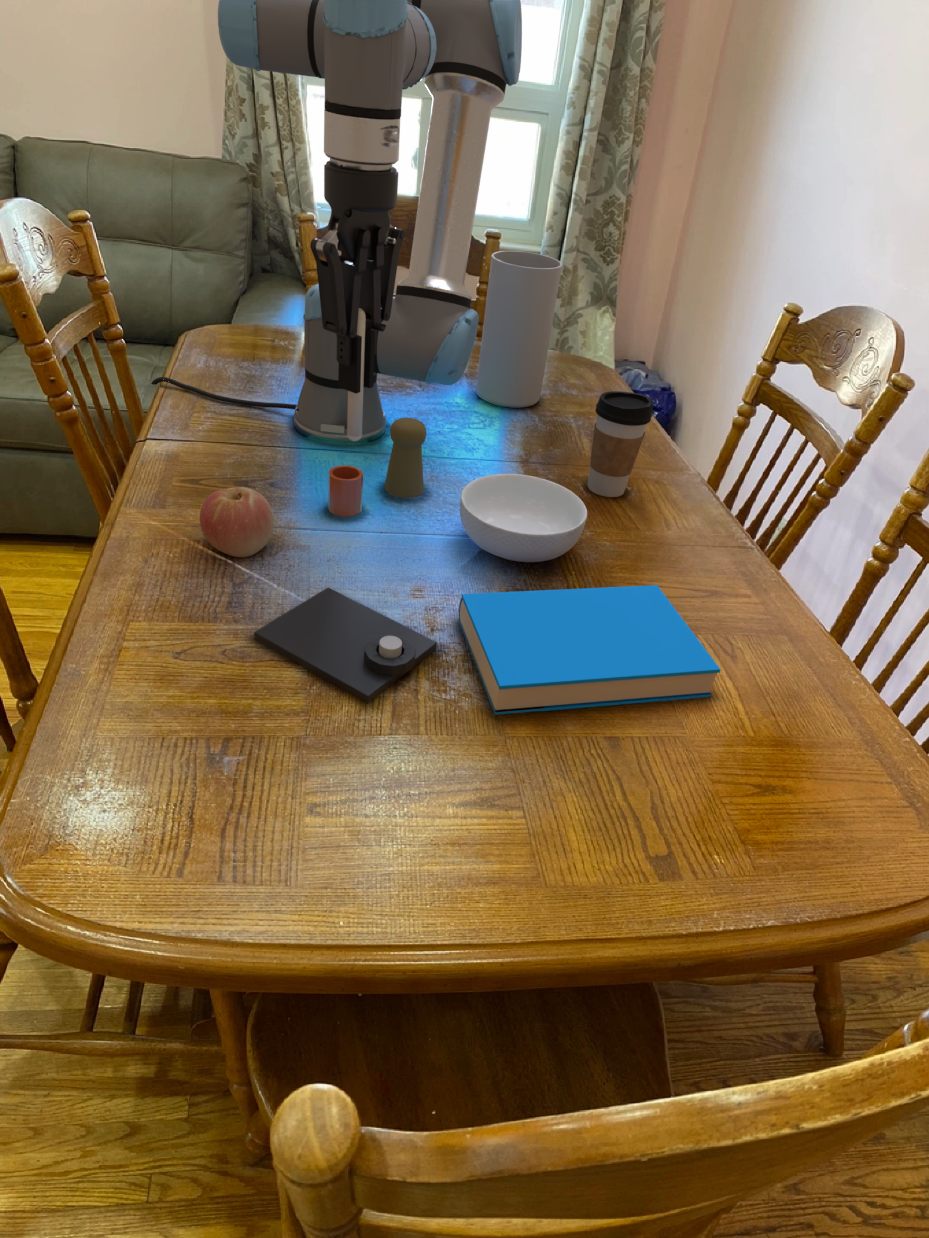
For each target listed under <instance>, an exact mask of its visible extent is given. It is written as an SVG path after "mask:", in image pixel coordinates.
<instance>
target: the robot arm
mask: <svg viewBox="0 0 929 1238" xmlns="http://www.w3.org/2000/svg"><path fill="white" fill-rule="evenodd" d="M521 1H522V0H218V6H217V26H218V27H217V28H218V35H219V36H218V37H219V41H220V44H221V48H222V50H223V52H224V54H225V56H226V58H228V60H229V61H230V63H232V64H233V65H234V66H238V67H243V68H247V69H252V70H255V71H256V72H261V71H265V72H273V73H280V74H287V75H295V76H296V75H297V76H304V77H313V78H318V79H322V80H323V79H324V109H323V121H324V122H323V154H325V156H326V157H327V158H329V160H328V161H326V162H325V164H324V165H323V171H324V172H323V189H324V190H323V196H324V197H323V198H324V200H325V202H326V203H328V205H329V207H330V217H329V219H328V220H329V221H328V222H327V233H326V234H325V235H324V236H323V237H322V238H321V239H319V238H315V237H314V238H312V239H311V241H310V245H309V247H310V250H311V252H312V255H313V257H314V261H315V263H316V275H317V283H315V284H314V285H312V286H310V287H309V289H308V290H307V291H306V294H305V298H304V313H303V320H304V321H303V322H304V324H303V325H304V326H303V327H304V329H303V330H304V332H303V333H304V381H303V384H302V387H301V390H300V393H299V397H298V400H297V404H296V403H295V404H294V403H293V404H292V403H283V402H265V401H255V400H247V399H241V398H233V397H228V396H224V395H220V394H215V393H211V392H209V391H206V390H204V389H201V388H199V387H195V386H193V385H189V384H185V383H183V382H180V381H178V380H175V379H173V378H171V377H166V376H159V377H156V378H154V379H153V380H152V381H151V382H150V385H158V384H159V383H168V384H171V385H173V386H175V387H178V388H180V389H183V390H185V391H189V392H193V393H195V394H198V395H201V396H203V397H206V398H209V399H213V400H216V401H220V402H224V403H230V404H235V405H242V406H250V407H257V408H258V407H259V408H271V409H272V408H274V409H287V410H294V413H293V425H294V428H295V430H297V432H299V433H300V434H301V435H303V436H305V437H306V438H312V439H315V440H319V441H323V442H329V443H339V444H353V443H362V442H363V443H364V442H371V441H374V440H377V439H378V438H380V437H381V436H383V434H384V433H386V427H387V426H386V425H387V424H386V423H387V419H386V418H387V417H386V414H385V411H384V409H383V406H382V400H381V396H380V392H379V387H378V374H380V375H384V376H389V377H390V376H391V377H395V378H401V379H406V380H411V381H416V382H421V383H422V382H423V383H425V384H428V385H430V384H434V385H435V384H437V385H442V386H443V385H444V386H451V385H454V384H456V383H458V382H459V381H460V379H461V377H462V376H463V375H464V373H465V371H466V369H467V366H468V364H469V362H470V358H471V356H472V353H473V349H474V346H475V343H476V340H477V339H476V338H477V333H478V327H479V322H480V316H479V313H478V311H476V310H475V309H474V308H471V304H472V299H473V298H472V296H471V294H470V293H469V291H468V290H467V288H466V286H465V280H466V274H467V273H466V272H467V266H468V261H469V254H470V248H471V241H472V235H473V230H474V229H473V228H474V224H475V223H474V222H475V217H476V210H477V204H478V197H479V192H480V184H481V178H482V171H483V165H484V161H485V160H484V159H485V153H486V147H487V140H488V135H489V129H490V121H491V117H492V112H493V109H494V108H496V107H497V106H498V105H500V104H501V103H502V102H503V101H504V98H505V95H506V88H507V86H508V87H512V86H515V85H517V83H518V82H519V79H520V73H521V66H522V65H521V64H522V51H523V50H522V48H523V46H522V45H523V18H522V15H523V14H522V3H521ZM422 80H424V86H425V87H426V89H427V91H428V92H429V94H430V95H431V97H432V102H431V110H430V116H429V125H428V132H427V138H426V145H425V154H424V158H423V159H424V160H423V167H422V174H421V182H420V189H419V195H418V203H417V210H416V216H415V223H414V224H415V225H414V231H413V239H412V246H411V247H412V248H411V254H410V261H409V269H408V274H407V275H406V276H405V277H404V278H403V279H401V280H400V281H399V282H397V284H396V278H397V271H398V264H399V257H400V251H401V249H402V245H403V243H404V240H405V236H406V232H405V230H404V229H401V228H398V227H395V226H393V225H392V224H391V223H392V222H391V215H390V211H392V210H394V209H395V208H396V206H397V204H398V190H399V189H398V188H399V171H398V170H397V169H396V168H395V167H394V166H393V165H395V164H396V163H397V162H398V161H400V159H399V158H400V139H401V138H400V134H401V117H402V103H403V101H402V100H403V90H407V89H408V88H413V87H414V85H415V86H416V85H417V84H418V83H420V82H421V81H422ZM395 286H396V288H395ZM395 289H396V290H395ZM394 292H395V295H394ZM359 308H361V309H362V310H363V311H364V312H365V315H366V322H365V354H364V385H363V417H362V436H361V438H360V439H359V440H358V441H352V440H350V439H349V438H348V436H347V417H348V391H350V392H353V393H355V394H357V393H359V392H360V383H361V349H362V336H359V335H356V334H357V326H358V313H359ZM163 379H164V380H163ZM168 381H169V382H168Z"/></svg>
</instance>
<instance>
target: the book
mask: <svg viewBox="0 0 929 1238" xmlns="http://www.w3.org/2000/svg"><path fill="white" fill-rule="evenodd" d="M458 623H459V626H460V627H461V631H462V633H463V635H464V638H465V640H466V641H465V642H466V644H467V647H468V649H469V652H470V653H471V657H472V659H473V662H474V664H475V667H476V670H477V672H478V674H479V678H480V680H481V682H482V685H483V687H484V688H483V689H484V690H485V692H486V695H487V698H488V700H489V703H490V706H491V707H492V710H493V713H494V715H507V714H518V713H519V714H521V713H532V712H549V711H559V710H572V709H584V708H596V707H608V706H619V705H630V704H631V705H632V704H642V703H655V702H656V703H657V702H666V701H667V702H668V701H680V700H690V699H703V698H711V696H712V693H711V690H712V688H713V686H714V682H715V680H716V677H717V674H719V673H720V672H721V668H720V666H719V665H718V664H717V662H716V661H715V660H714V658H713V657H712V656H711V654H710V653H709V652H708V651H707V649H706V648H705V647H704V646H703V644H702V643H701V641H700V639H699V638H698V637H697V636H696V634H695V633H694V632H693V630H692V629H691V628H690V627H689V625H688V624H687V623H686V621H685V620H684V619H683V617H682V615H680V613H679V611H677V609H676V608H675V607H674V605H673V604H672V603H671V601H670V600H669V599H668V598H667V596H666V595H665V593H664V592H663V590H662V589H661V588H660V586H659V585H658V584H654V585H653V584H651V585H630V586H629V585H628V586H608V587H607V586H606V587H588V588H587V587H585V588H584V587H583V588H566V589H565V588H563V589H543V590H542V589H540V590H521V591H520V590H519V591H518V590H517V591H499V592H495V591H494V592H479V593H478V592H474V593H473V592H471V593H461V598H460V600H459V605H458ZM535 707H536V708H535ZM537 707H542V708H537ZM526 708H532V709H526ZM515 709H519V710H515ZM520 709H521V710H520ZM501 710H507V711H501ZM508 710H509V711H508Z"/></svg>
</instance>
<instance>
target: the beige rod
mask: <svg viewBox="0 0 929 1238" xmlns="http://www.w3.org/2000/svg"><path fill="white" fill-rule="evenodd" d="M365 322H366V315H365V312H364V311H363V310H362V309H361V308H359V313H358V326H357V334H356V335H359V336H362V349H361V383H360V392H359V393H357V394H355V393H353V392H350V391H348V417H347V436H348V438H349V439H350V440H352V441H358V440H359V439H360V438H361V436H362V417H363V385H364V354H365Z"/></svg>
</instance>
